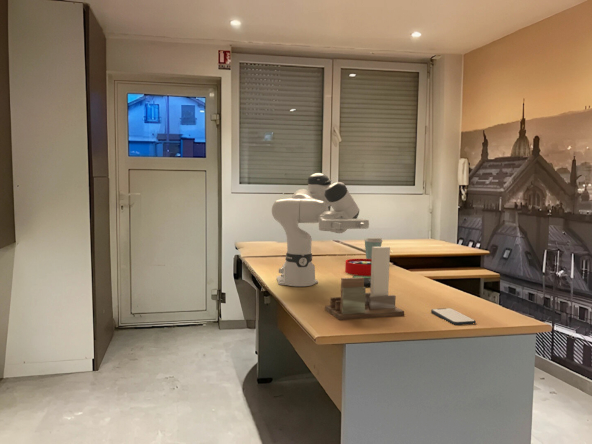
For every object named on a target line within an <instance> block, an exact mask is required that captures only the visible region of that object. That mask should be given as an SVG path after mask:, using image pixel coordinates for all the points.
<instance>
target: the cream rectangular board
mask: <svg viewBox="0 0 592 444" xmlns="http://www.w3.org/2000/svg"><path fill="white" fill-rule="evenodd" d="M390 255H391V247H390V246H381V247H372V263H371V276H370V277H371V288H370V292H369V293H370V296H387V295H389V287H390V286H389V283H390V281H389V280H390V279H389V278H390V258H391V256H390Z"/></svg>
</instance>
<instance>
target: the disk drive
mask: <svg viewBox="0 0 592 444" xmlns="http://www.w3.org/2000/svg"><path fill="white" fill-rule="evenodd" d="M358 277H363V278H364V287H366V288H370V289H371V276H360V275H353V276H352V277H351V278H358Z"/></svg>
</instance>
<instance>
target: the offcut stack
mask: <svg viewBox="0 0 592 444" xmlns="http://www.w3.org/2000/svg"><path fill="white" fill-rule="evenodd" d="M340 279H341V280H340V297H341V302H340V312H341V313H342V314H358V313H365V293H367V292H366V291H367V290H366V289H367V287H364V278H363V277H358V278H352V277H341V278H340Z"/></svg>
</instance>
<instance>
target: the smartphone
mask: <svg viewBox="0 0 592 444" xmlns="http://www.w3.org/2000/svg"><path fill="white" fill-rule="evenodd" d="M430 313H431V314H432V315H435V316H436V317H438V318H440V319H442V320H443V319H444V321H445V320H446V322H447V321H448V323H449V322H450V323H449V324H451V323H452V324H451V325H453V324H454V325H453V326H463V325H462V324H469V325H474V324H473V323H476V322H477V321H476V320H475V319H473V318H471V317H469V316H467V315H466V314H463V313H461V312H459V311H457V310H456V309H453V308H451V307H447V308H444V307H443V308H432V309H431V311H430Z"/></svg>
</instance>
